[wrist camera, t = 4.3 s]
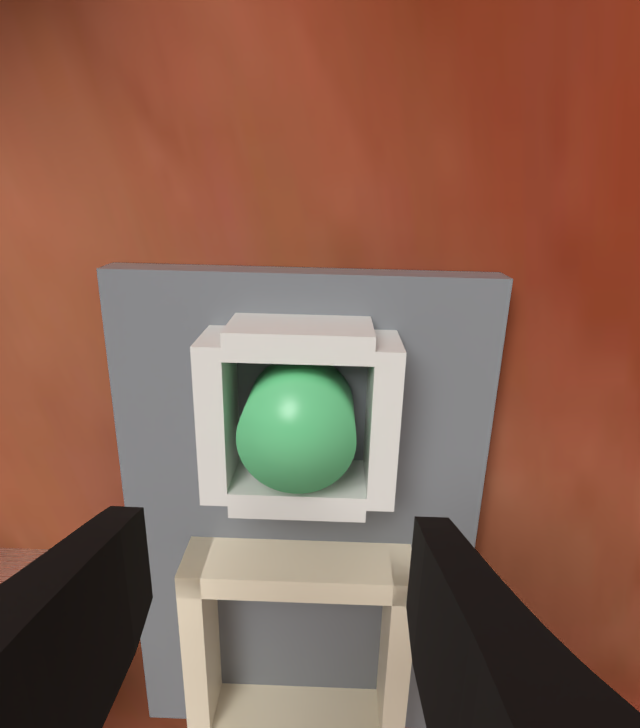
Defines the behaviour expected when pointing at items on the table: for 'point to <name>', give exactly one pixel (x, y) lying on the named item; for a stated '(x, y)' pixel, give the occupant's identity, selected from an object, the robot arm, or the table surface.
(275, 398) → the button
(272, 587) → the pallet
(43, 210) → the table surface
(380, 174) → the table surface
